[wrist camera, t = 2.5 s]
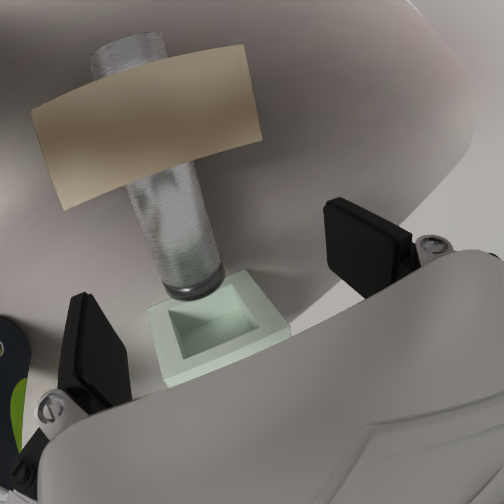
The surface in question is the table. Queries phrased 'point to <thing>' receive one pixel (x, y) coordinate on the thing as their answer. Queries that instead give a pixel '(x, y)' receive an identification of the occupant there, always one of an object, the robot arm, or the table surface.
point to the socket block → (214, 329)
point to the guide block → (146, 121)
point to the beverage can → (11, 398)
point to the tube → (167, 194)
